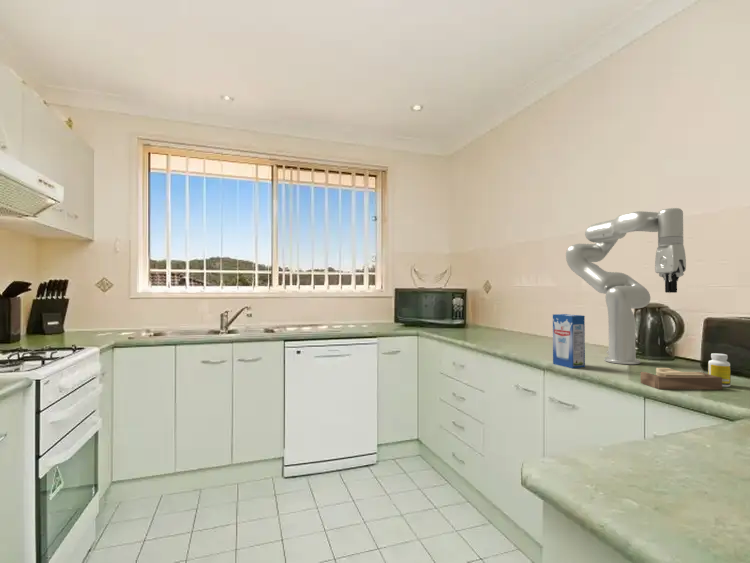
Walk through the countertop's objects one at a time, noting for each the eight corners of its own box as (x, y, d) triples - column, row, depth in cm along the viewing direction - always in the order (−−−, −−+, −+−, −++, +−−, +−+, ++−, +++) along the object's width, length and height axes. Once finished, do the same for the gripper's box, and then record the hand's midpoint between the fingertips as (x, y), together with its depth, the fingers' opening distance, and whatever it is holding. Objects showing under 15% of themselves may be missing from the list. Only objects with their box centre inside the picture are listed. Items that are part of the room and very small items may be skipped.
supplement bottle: (735, 387, 124) (734, 355, 124) (714, 386, 125) (714, 355, 125) (723, 383, 129) (723, 353, 129) (704, 382, 130) (704, 352, 131)
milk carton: (585, 367, 156) (584, 315, 156) (572, 368, 153) (572, 315, 154) (564, 362, 165) (564, 314, 165) (552, 363, 163) (552, 314, 163)
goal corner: (640, 382, 130) (640, 371, 130) (700, 382, 130) (700, 372, 130) (658, 389, 122) (658, 377, 122) (722, 389, 122) (722, 377, 122)
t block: (644, 379, 134) (644, 367, 134) (680, 379, 134) (680, 367, 134) (665, 387, 124) (665, 374, 124) (704, 387, 124) (704, 374, 124)
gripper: (646, 244, 155) (647, 292, 155) (675, 240, 140) (676, 292, 140) (666, 244, 155) (666, 292, 155) (697, 240, 140) (697, 292, 140)
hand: (671, 292), depth 148 cm, fingers closed
